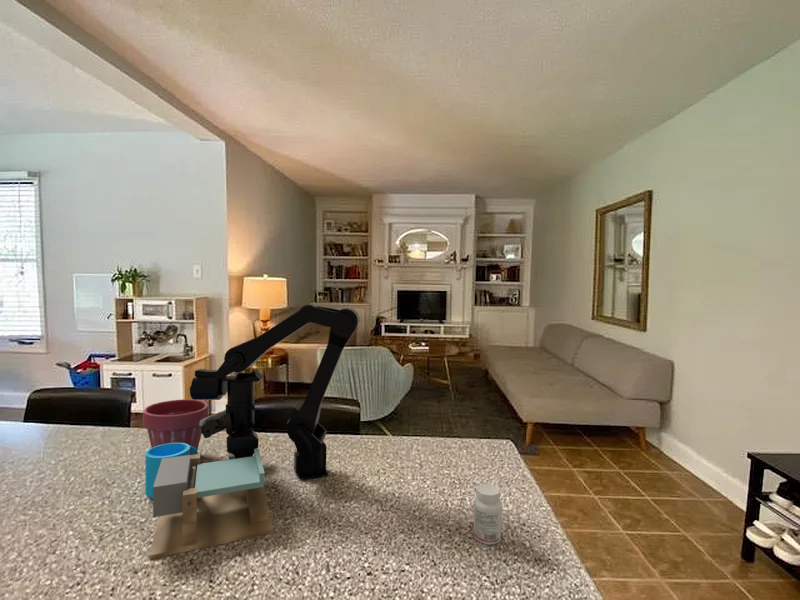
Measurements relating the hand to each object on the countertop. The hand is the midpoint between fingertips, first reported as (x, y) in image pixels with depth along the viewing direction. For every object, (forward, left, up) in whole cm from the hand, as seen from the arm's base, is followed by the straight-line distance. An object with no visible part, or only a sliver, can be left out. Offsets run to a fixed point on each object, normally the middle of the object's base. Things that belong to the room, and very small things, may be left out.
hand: (240, 467), depth 95 cm
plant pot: (+14, -14, -1) cm, 20 cm away
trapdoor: (+6, +18, +4) cm, 19 cm away
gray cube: (0, 0, -1) cm, 1 cm away
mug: (+13, +1, -1) cm, 13 cm away
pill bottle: (-38, +42, -1) cm, 57 cm away
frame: (+5, +18, -1) cm, 19 cm away
